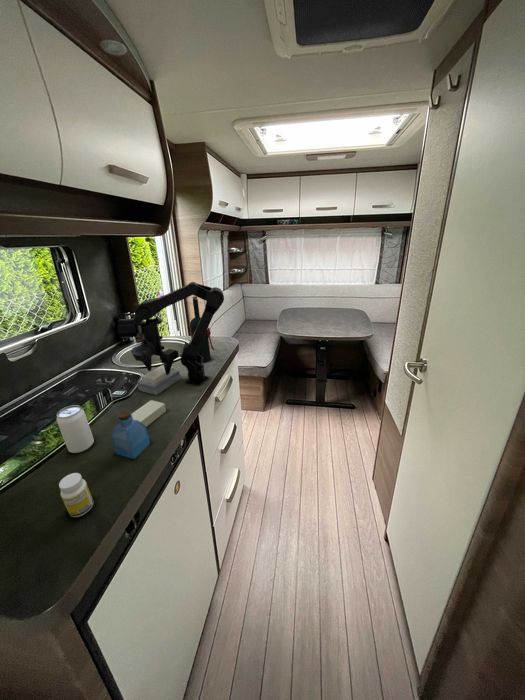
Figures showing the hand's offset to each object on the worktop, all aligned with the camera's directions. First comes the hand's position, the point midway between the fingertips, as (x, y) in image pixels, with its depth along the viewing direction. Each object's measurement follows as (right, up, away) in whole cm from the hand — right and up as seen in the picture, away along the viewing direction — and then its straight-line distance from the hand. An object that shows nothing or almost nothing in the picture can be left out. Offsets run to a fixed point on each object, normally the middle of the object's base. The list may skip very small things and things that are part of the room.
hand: (158, 372), depth 109 cm
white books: (+3, -13, -18) cm, 23 cm away
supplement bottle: (+1, -26, -48) cm, 54 cm away
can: (-11, -19, -29) cm, 37 cm away
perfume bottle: (+5, -19, -31) cm, 37 cm away
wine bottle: (+14, +4, +23) cm, 27 cm away
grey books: (0, -5, +2) cm, 5 cm away
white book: (0, -1, +1) cm, 2 cm away
